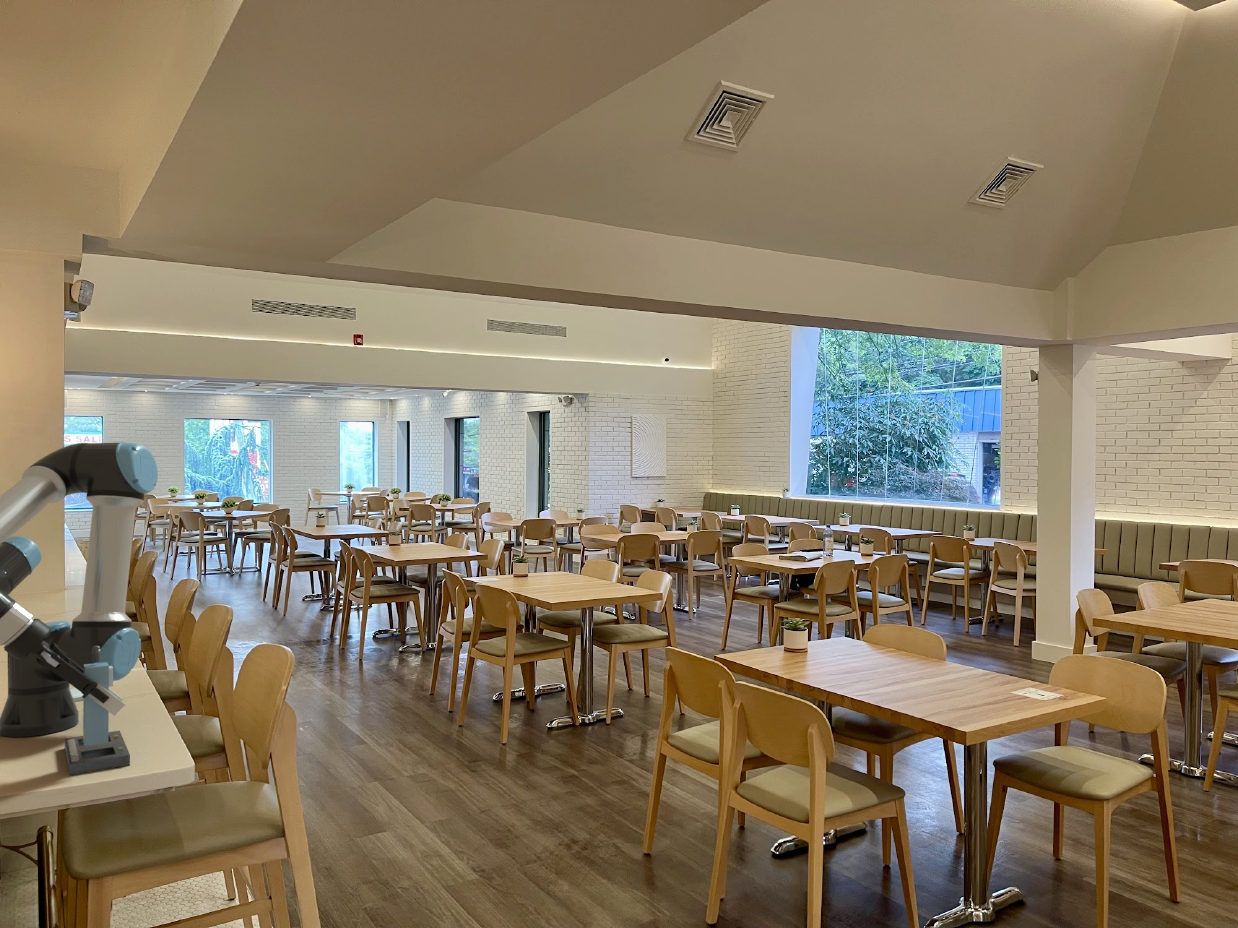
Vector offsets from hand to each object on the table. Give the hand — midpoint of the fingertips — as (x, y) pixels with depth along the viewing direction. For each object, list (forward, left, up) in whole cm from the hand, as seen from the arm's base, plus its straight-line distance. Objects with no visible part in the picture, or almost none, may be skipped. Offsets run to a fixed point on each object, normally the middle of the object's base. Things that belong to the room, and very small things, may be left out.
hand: (118, 706), depth 176 cm
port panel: (-5, -3, -11) cm, 12 cm away
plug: (0, -4, -6) cm, 7 cm away
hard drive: (-65, -2, -11) cm, 66 cm away
